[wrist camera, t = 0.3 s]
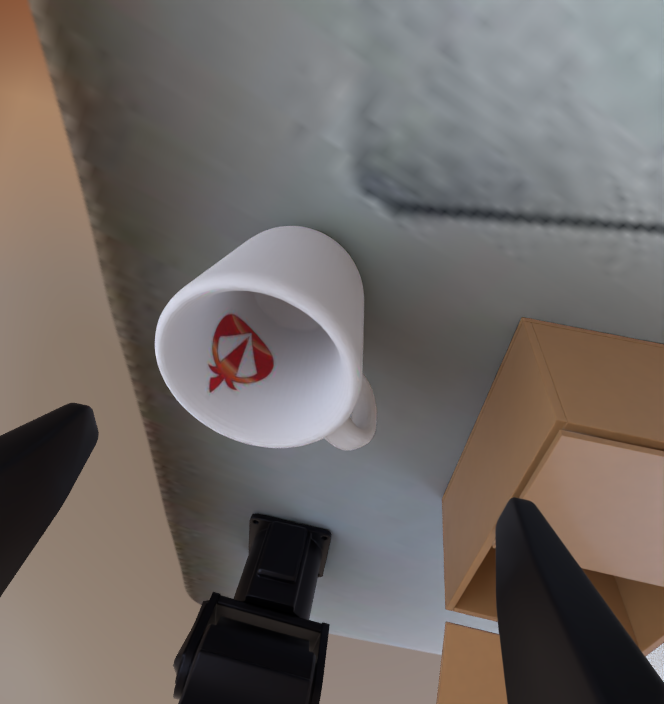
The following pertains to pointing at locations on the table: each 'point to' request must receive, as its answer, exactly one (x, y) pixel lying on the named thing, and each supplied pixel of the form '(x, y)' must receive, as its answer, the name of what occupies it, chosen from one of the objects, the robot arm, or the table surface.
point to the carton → (568, 470)
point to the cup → (273, 344)
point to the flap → (471, 667)
